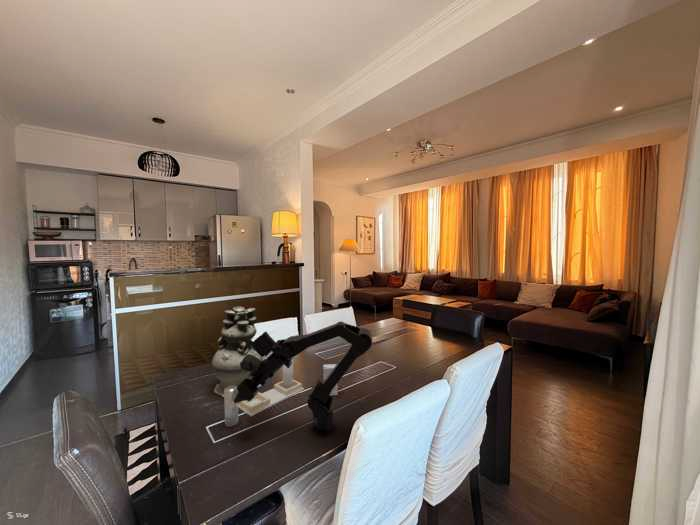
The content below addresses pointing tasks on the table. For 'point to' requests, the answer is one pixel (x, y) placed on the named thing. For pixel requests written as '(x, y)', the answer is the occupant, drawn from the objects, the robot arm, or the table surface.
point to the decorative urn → (234, 348)
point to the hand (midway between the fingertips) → (240, 394)
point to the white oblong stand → (273, 394)
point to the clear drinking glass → (230, 406)
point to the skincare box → (326, 371)
